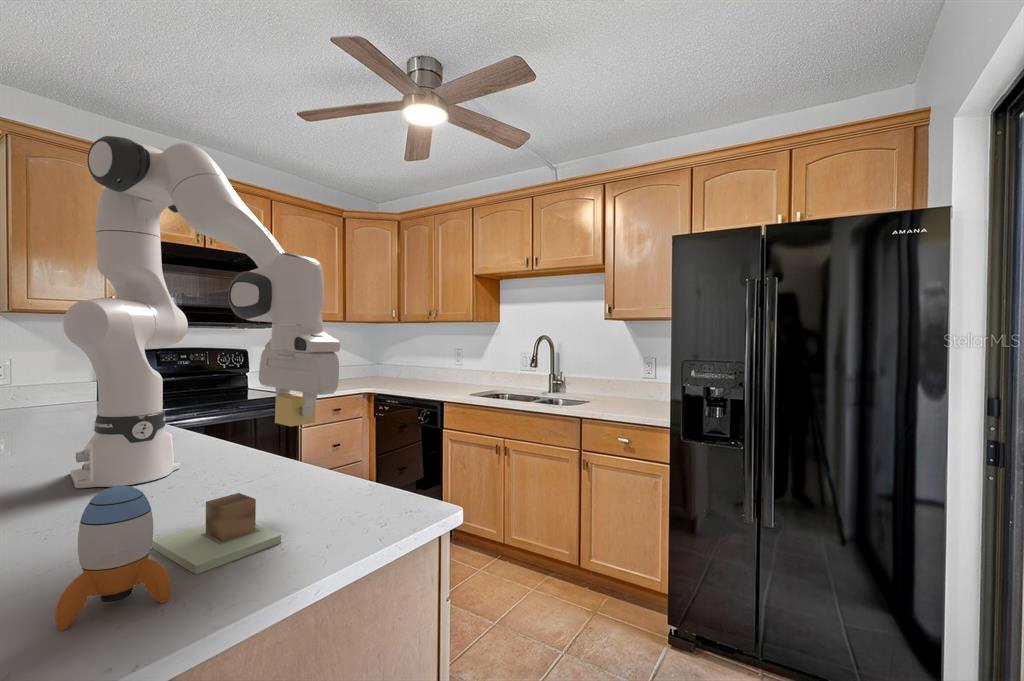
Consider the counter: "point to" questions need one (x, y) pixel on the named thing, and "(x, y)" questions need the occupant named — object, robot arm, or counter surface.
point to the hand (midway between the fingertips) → (295, 413)
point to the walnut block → (230, 516)
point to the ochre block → (291, 410)
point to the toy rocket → (113, 553)
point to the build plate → (211, 547)
